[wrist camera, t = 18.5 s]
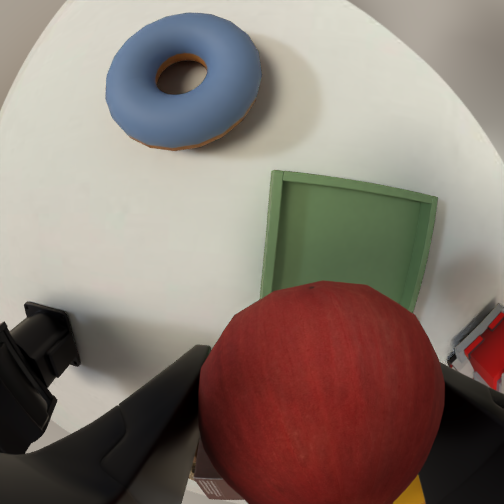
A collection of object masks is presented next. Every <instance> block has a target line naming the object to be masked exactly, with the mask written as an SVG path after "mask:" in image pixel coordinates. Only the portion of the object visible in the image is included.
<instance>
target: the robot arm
mask: <svg viewBox="0 0 504 504" xmlns="http://www.w3.org/2000/svg"><path fill="white" fill-rule="evenodd" d="M24 308H25V311H26V315H27V318H26V319H24V320H23V321H22V322H21V323H19V324H18V325H17V326H16V327H14V328H13V329H12V330H11V331H10V332H9V330H8V328H7V325H6V323H5V321H4V322H2V323H1V324H0V504H181V503H182V499H183V496H184V492H185V489H186V485H187V482H188V478H189V474H190V471H191V467H192V464H193V460H194V457H195V453H196V449H197V446H198V442H199V439H200V431H199V426H198V392H199V381H200V371H201V367H202V365H203V364H204V362H205V360H206V359H207V357H208V355H209V354H210V352H211V347H210V346H207V345H195V346H194V347H193V348H191V349H190V350H189V351H188V352H186V353H185V354H184V355H183V356H181V357H180V358H179V359H178V360H176V361H175V362H174V363H172V364H171V365H170V366H169V367H167V368H166V369H165V370H163V371H162V372H161V373H160V374H158V375H157V376H156V377H154V378H153V379H152V380H150V381H149V382H148V383H146V384H145V385H144V386H142V387H141V388H140V389H138V390H137V391H136V392H134V393H133V394H132V395H130V396H129V397H128V398H126V399H125V400H124V401H122V402H121V403H120V404H119V406H115V407H114V408H113V409H111V410H110V411H108V412H107V413H106V414H104V415H103V416H101V417H100V418H98V419H97V420H95V421H94V422H92V423H90V424H89V425H87V426H85V427H83V428H81V429H80V430H78V431H76V432H74V433H72V434H70V435H68V436H66V437H64V438H62V439H61V440H58V441H56V442H54V443H52V444H50V445H48V446H46V447H44V448H42V449H40V450H37V451H35V452H31V453H27V454H25V452H26V451H27V449H28V447H29V446H30V444H31V443H33V442H35V441H36V440H38V439H39V438H40V437H41V436H42V435H43V434H44V432H45V430H46V428H47V426H48V423H49V421H50V418H51V416H52V413H53V410H54V408H55V405H56V403H57V399H56V397H55V396H54V395H52V394H51V392H50V391H49V390H48V389H47V388H48V387H49V386H50V384H51V383H52V382H53V380H54V379H55V378H56V377H57V378H59V377H60V376H61V374H62V373H63V372H64V371H65V369H66V368H67V367H68V366H69V364H70V365H73V366H77V367H78V366H79V365H80V364H81V362H80V358H79V355H78V352H77V349H76V345H75V342H74V338H73V334H72V330H71V326H70V322H69V318H68V315H67V313H65V312H64V311H60V310H56V309H52V308H48V307H45V306H41V305H37V304H34V303H30V302H26V303H25V304H24ZM440 366H441V370H442V374H443V378H444V383H445V399H444V409H443V414H442V418H441V422H440V426H439V429H438V432H437V435H436V437H435V440H434V443H433V445H432V448H431V450H430V453H429V455H428V457H427V460H426V461H425V463H424V465H423V467H422V468H421V470H420V472H419V473H418V476H419V480H420V483H421V487H422V491H423V495H424V499H425V503H426V504H504V394H503V393H501V392H499V391H496V390H494V389H492V388H490V387H489V388H488V386H486V385H484V384H482V383H480V382H478V381H476V380H474V379H472V378H470V377H468V376H466V375H464V374H462V373H460V372H458V371H456V370H454V369H452V368H450V367H448V366H446V365H444V364H442V363H440Z"/></svg>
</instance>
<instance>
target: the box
mask: <svg viewBox="0 0 504 504" xmlns="http://www.w3.org/2000/svg"><path fill="white" fill-rule="evenodd" d="M193 478H194V480H195V481H196V482H197V484H198V485H199V486H200V488H201V489H202V491H203V492H204V493H205V494H206V496H207V497H208V498H209V499H219V500H244V499H243V498H242V497H241V496H240V495H239V494H238V493H237V492H235V491H234V490H233V489H232V488H231V487H230V486H229V485H228V484H227V483H226V482H225V481H224V480H223V478H222V477H221V476H220V475H219V473H218V472H217V471H216V469H215V468H214V467H213V465H212V463H211V461H210V460H209V458H208V456H207V454H206V452H205V450H204V448H203V445H202V440H201V436H200V440H199V447H198V453H197V459H196V465H195V472H194V476H193Z"/></svg>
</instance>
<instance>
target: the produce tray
mask: <svg viewBox="0 0 504 504" xmlns="http://www.w3.org/2000/svg"><path fill="white" fill-rule="evenodd" d="M437 201H438V197H435V196H431V195H426V194H422V193H418V192H413V191H409V190H404V189H399V188H394V187H389V186H384V185H379V184H373V183H368V182H362V181H356V180H350V179H343V178H337V177H330V176H323V175H315V174H307V173H299V172H290V171H280V170H273V171H271V181H270V193H269V205H268V216H267V227H266V238H265V249H264V260H263V270H262V281H261V291H260V299H262V298H263V297H265V296H267V295H268V294H270V293H272V292H273V291H276V290H281V289H286V288H290V287H295V286H300V285H304V284H309V283H313V282H318V281H322V280H324V281H334V282H344V283H354V284H365V285H368V286H370V287H372V288H373V289H375V290H377V291H379V292H380V293H382V294H384V295H385V296H387V297H389V298H390V299H392V300H394V301H395V302H397V303H398V304H400V305H401V306H403V307H404V308H406V309H407V310H408V311H410V312H411V313H413V311H414V307H415V304H416V301H417V297H418V294H419V290H420V287H421V283H422V279H423V275H424V271H425V267H426V263H427V259H428V254H429V249H430V244H431V239H432V234H433V228H434V222H435V216H436V209H437Z"/></svg>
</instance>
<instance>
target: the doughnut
mask: <svg viewBox="0 0 504 504" xmlns="http://www.w3.org/2000/svg"><path fill="white" fill-rule="evenodd" d="M185 60H192V61H196V62H198V63H201V64H202V65H203V66H204V67H205V68H206V70H207V75H206V78H205V79H204V80H203V82H202V83H201V84H200V85H199V86H198V87H196V88H195V89H194V90H192V91H189V92H187V93H184V94H178V95H171V94H166V93H163V92H161V91H160V90H159V89H158V88H157V82H158V79H159V76H160V75H161V73H162V72H163V71H164V70H165V69H166V68H167V67H169V66H170V65H172V64H174V63H176V62H179V61H185ZM261 77H262V72H261V65H260V58H259V52H258V50H257V49H256V47H255V45H254V44H253V42H252V40H251V39H250V37H249V36H248V35H247V34H246V33H245V32H244V31H242V30H241V29H240V28H239V27H237V26H236V25H235V24H233V23H232V22H231V21H228V20H226V19H223V18H220V17H217V16H215V15H212V14H203V13H183V14H178V15H172V16H167V17H164V18H162V19H160V20H157V21H155V22H153V23H151V24H148V25H146V26H145V27H143V28H142V29H141V30H139V31H138V32H137V33H135V34H134V35H133V36H131V37H130V38H129V39H128V40H127V41H126V42H125V43H124V45H123V46H122V47H121V48H120V50H119V51H118V52H117V54H116V55H115V56H114V59H113V61H112V64H111V66H110V69H109V71H108V74H107V78H106V102H107V104H108V107H109V110H110V113H111V116H112V118H113V119H114V120H115V122H116V123H117V124H118V125H119V126H120V127H121V128H122V129H123V130H124V132H125V133H126V134H127V135H128V136H129V137H130V138H132V139H134V140H136V141H138V142H140V143H142V144H144V145H146V146H148V147H150V148H156V149H164V150H171V151H178V150H184V149H191V148H197V147H201V146H203V145H206V144H208V143H210V142H212V141H214V140H217V139H219V138H221V137H223V136H224V135H225V134H227V133H228V132H229V131H230V130H231V129H233V128H234V127H235V126H236V125H238V124H239V123H240V122H241V121H242V120H243V119H244V117H245V116H246V114H247V113H248V111H249V110H250V108H251V107H252V105H253V104H254V102H255V101H256V97H257V93H258V89H259V85H260V81H261Z"/></svg>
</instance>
